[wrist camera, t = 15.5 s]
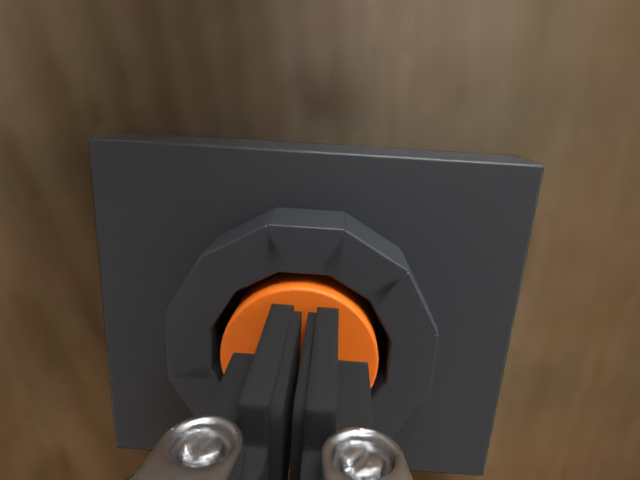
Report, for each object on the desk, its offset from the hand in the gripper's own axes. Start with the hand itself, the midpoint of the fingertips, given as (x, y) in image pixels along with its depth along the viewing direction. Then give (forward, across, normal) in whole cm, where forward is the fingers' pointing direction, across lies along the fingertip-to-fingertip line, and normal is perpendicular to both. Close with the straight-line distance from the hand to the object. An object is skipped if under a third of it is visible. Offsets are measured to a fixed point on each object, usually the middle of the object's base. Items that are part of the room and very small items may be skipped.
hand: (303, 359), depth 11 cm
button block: (+4, 0, 0) cm, 4 cm away
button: (+2, 0, 0) cm, 2 cm away
